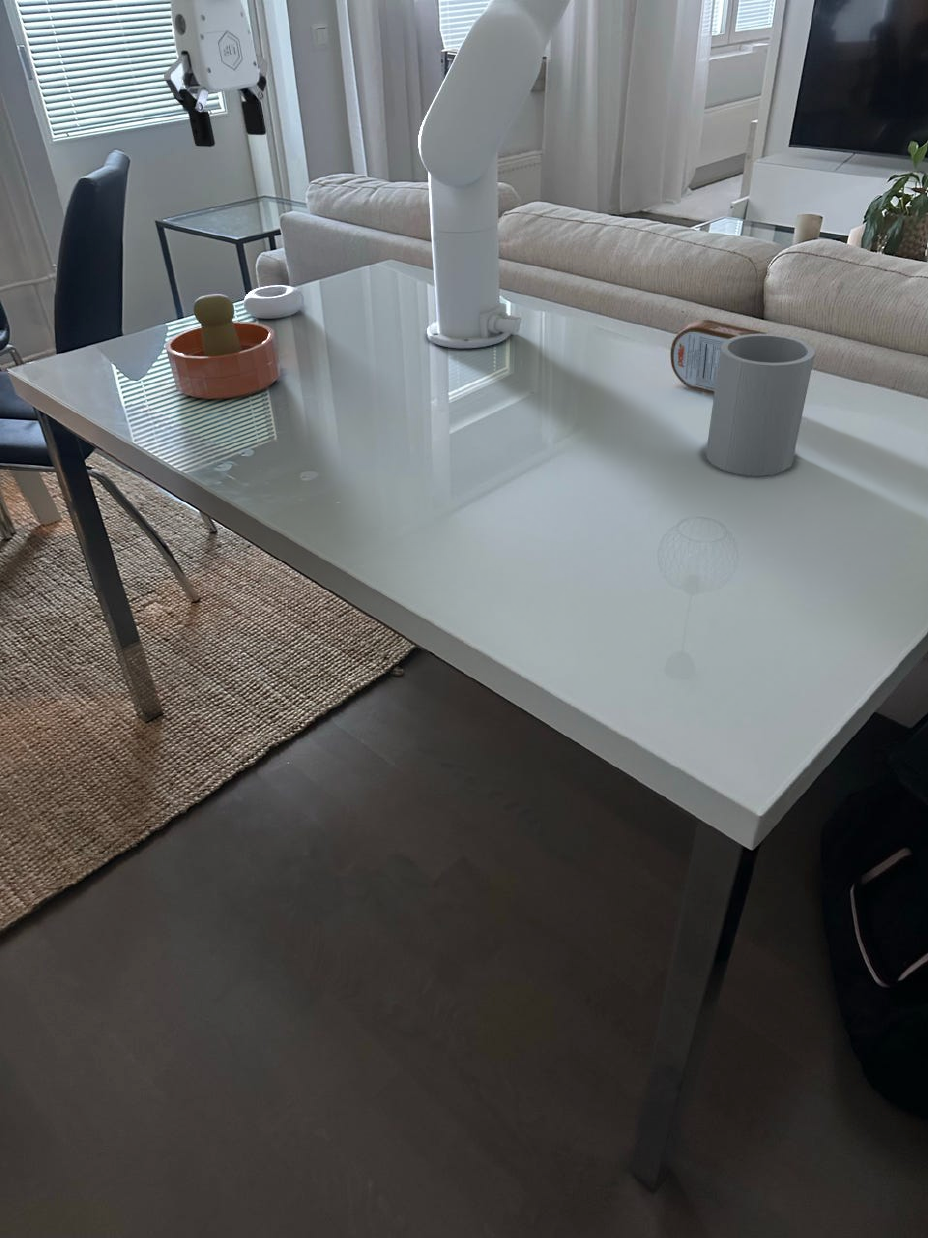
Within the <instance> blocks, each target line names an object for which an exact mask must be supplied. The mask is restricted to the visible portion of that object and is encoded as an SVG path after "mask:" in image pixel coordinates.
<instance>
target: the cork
mask: <svg viewBox="0 0 928 1238" xmlns="http://www.w3.org/2000/svg"><path fill="white" fill-rule="evenodd" d="M192 308H193V309H192V310H193V315H194V318H195V319H196V321H197V322H198V323H199V324H200V326H201V328H202V338H203V349H204V357H205V356H220V355H226V354H232V353H237V352H240V351H242V348H241V345H240V342H239V339H238V336H237V333H236V330H235V327H234V324H233V322H234V321H233V320H234V315H235V306H234V304H233V302H232V300H231V299H230V297H229V296H227V295H225V294H221V293H214V294H213V293H212V294H206V295H202V296H200V297H199V298H197V299H195V301H194V303H193V307H192Z"/></svg>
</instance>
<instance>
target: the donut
mask: <svg viewBox="0 0 928 1238" xmlns="http://www.w3.org/2000/svg"><path fill="white" fill-rule="evenodd" d="M304 299H305V298H304V295H303V293H302V292H301V291H300V290H299V289H298V288H296V287H293V286H291V285H290V286H289V285H278V284H277V285H268V286H262V287H258V288H256V289H253V290H251V291H249V292H248V294H246V296H245V297H244V300H243V309H244V310H245V312H246V313H247V314H248V315H249V316H251V317H253V318H256V319H263V320H275V319H282V318H287V317H290V316H293V315H295V314H296V313H298V312H300V311H301V309H302V308H303V307H304V303H305V300H304Z"/></svg>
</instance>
